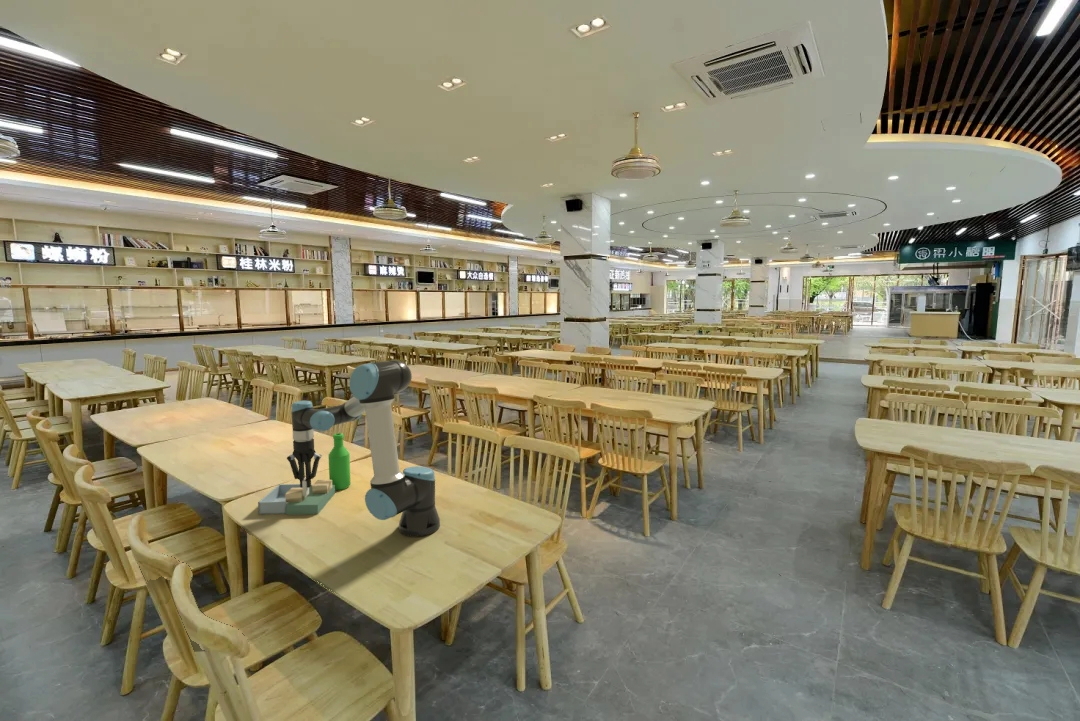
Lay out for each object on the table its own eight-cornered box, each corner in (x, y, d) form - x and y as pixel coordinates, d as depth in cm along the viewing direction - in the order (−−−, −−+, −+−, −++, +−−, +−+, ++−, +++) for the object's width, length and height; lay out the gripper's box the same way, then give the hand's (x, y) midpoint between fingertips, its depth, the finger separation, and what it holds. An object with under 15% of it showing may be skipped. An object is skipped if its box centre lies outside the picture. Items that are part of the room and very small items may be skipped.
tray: (286, 513, 184) (285, 501, 184) (258, 514, 183) (258, 502, 183) (304, 494, 202) (304, 483, 202) (279, 495, 201) (278, 484, 201)
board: (318, 514, 185) (317, 504, 184) (286, 514, 184) (286, 505, 183) (335, 493, 204) (334, 484, 204) (306, 493, 203) (306, 485, 203)
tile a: (301, 501, 186) (300, 493, 186) (285, 502, 186) (285, 493, 185) (307, 495, 192) (306, 487, 192) (292, 495, 192) (291, 487, 191)
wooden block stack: (327, 493, 195) (327, 485, 195) (312, 493, 194) (312, 485, 194) (332, 487, 201) (332, 479, 200) (318, 487, 200) (317, 480, 200)
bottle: (354, 483, 215) (352, 431, 212) (344, 491, 207) (342, 437, 203) (336, 482, 216) (334, 431, 213) (325, 490, 207) (323, 436, 204)
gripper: (323, 436, 191) (325, 490, 194) (290, 436, 189) (293, 491, 192) (316, 441, 183) (319, 498, 186) (282, 442, 182) (285, 498, 185)
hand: (306, 494), depth 189 cm, fingers closed
